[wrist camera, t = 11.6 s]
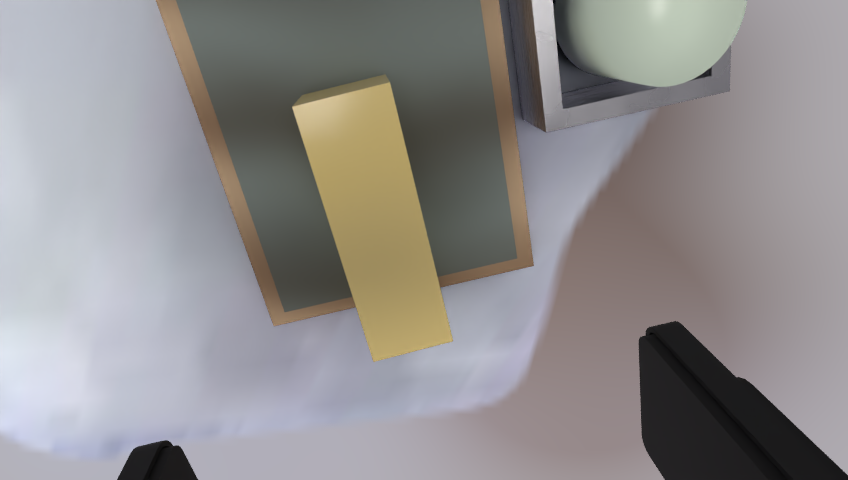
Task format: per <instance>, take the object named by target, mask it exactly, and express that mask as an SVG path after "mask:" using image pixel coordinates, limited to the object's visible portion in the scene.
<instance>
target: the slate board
mask: <svg viewBox="0 0 848 480" xmlns="http://www.w3.org/2000/svg"><path fill="white" fill-rule="evenodd" d="M156 2H157V5H158V8H159V10H160V13H161V16H162V19H163V21H164V24H165V27H166V30H167V32H168V35H169V38H170V41H171V43H172V46H173V49H174V52H175V55H176V57H177V60H178V63H179V66H180V68H181V71H182V74H183V77H184V79H185V82H186V85H187V88H188V90H189V93H190V96H191V99H192V102H193V104H194V107H195V110H196V113H197V115H198V118H199V121H200V124H201V126H202V129H203V132H204V135H205V137H206V140H207V143H208V146H209V148H210V151H211V154H212V157H213V160H214V162H215V165H216V168H217V171H218V173H219V176H220V179H221V182H222V184H223V187H224V190H225V193H226V195H227V198H228V201H229V204H230V206H231V209H232V212H233V215H234V218H235V220H236V223H237V226H238V229H239V231H240V234H241V237H242V240H243V242H244V245H245V248H246V251H247V253H248V256H249V259H250V262H251V265H252V267H253V270H254V273H255V276H256V278H257V281H258V284H259V287H260V289H261V292H262V295H263V298H264V300H265V303H266V306H267V309H268V311H269V314H270V317H271V320H272V323H273V325H274V326H277V325H281V324H286V323H290V322H294V321H298V320H303V319H307V318H311V317H316V316H320V315H324V314H329V313H333V312H337V311H341V310H346V309H350V308H354V307H356V305H355V302H354V299H353V296H352V293H351V290H350V287H349V284H348V280H347V277H346V274H345V271H344V268H343V265H342V262H341V259H340V255H339V252H338V249H337V246H336V243H335V240H334V237H333V233H332V230H331V227H330V224H329V221H328V218H327V215H326V212H325V208H324V205H323V202H322V199H321V196H320V193H319V190H318V187H317V183H316V180H315V177H314V174H313V171H312V168H311V165H310V162H309V158H308V155H307V152H306V149H305V146H304V143H303V140H302V136H301V133H300V130H299V127H298V124H297V121H296V118H295V115H294V111H293V108H292V106H293V105H294V104H295V103H296V101H297V100H298V99H299V98H300V97H301V96H302V95H304V94H308V93H312V92H316V91H320V90H324V89H328V88H332V87H336V86H340V85H344V84H348V83H352V82H356V81H360V80H364V79H368V78H372V77H376V76H380V75H384V74H386V76H387V78H388V80H389V81H390V84H391V88H392V93H393V97H394V101H395V105H396V109H397V113H398V117H399V121H400V125H401V129H402V134H403V138H404V142H405V146H406V150H407V154H408V158H409V162H410V166H411V170H412V175H413V179H414V183H415V187H416V191H417V195H418V199H419V203H420V207H421V211H422V216H423V220H424V224H425V228H426V232H427V236H428V240H429V244H430V248H431V253H432V257H433V261H434V265H435V269H436V273H437V277H438V281H439V285H440V287H445V286H449V285H453V284H458V283H462V282H466V281H470V280H475V279H479V278H483V277H488V276H492V275H496V274H501V273H505V272H509V271H513V270H518V269H522V268H526V267H531V266H534V264H533V256H532V249H531V241H530V233H529V226H528V218H527V211H526V203H525V195H524V188H523V180H522V173H521V165H520V157H519V150H518V142H517V135H516V127H515V119H514V112H513V104H512V97H511V89H510V81H509V74H508V66H507V59H506V51H505V43H504V36H503V28H502V21H501V13H500V5H499V0H156Z"/></svg>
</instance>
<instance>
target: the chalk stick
mask: <svg viewBox="0 0 848 480" xmlns="http://www.w3.org/2000/svg"><path fill="white" fill-rule="evenodd" d="M292 108H293V111H294V115H295V118H296V121H297V124H298V127H299V130H300V133H301V136H302V140H303V143H304V146H305V149H306V152H307V155H308V158H309V162H310V165H311V168H312V171H313V174H314V177H315V180H316V183H317V187H318V190H319V193H320V196H321V199H322V202H323V205H324V208H325V212H326V215H327V218H328V221H329V224H330V227H331V230H332V233H333V237H334V240H335V243H336V246H337V249H338V252H339V255H340V259H341V262H342V265H343V268H344V271H345V274H346V277H347V280H348V284H349V287H350V290H351V293H352V296H353V299H354V302H355V305H356V309H357V312H358V315H359V318H360V321H361V324H362V327H363V330H364V334H365V337H366V340H367V343H368V346H369V349H370V352H371V356H372V359H373V362H375V361H379V360H383V359H387V358H390V357H394V356H398V355H402V354H406V353H410V352H413V351H417V350H421V349H425V348H429V347H433V346H437V345H440V344H444V343H448V342H452V341H453V339H452V335H451V330H450V326H449V322H448V318H447V314H446V310H445V306H444V302H443V298H442V294H441V289H440V285H439V281H438V277H437V273H436V269H435V265H434V261H433V257H432V253H431V248H430V244H429V240H428V236H427V232H426V228H425V224H424V220H423V216H422V211H421V207H420V203H419V199H418V195H417V191H416V187H415V183H414V179H413V175H412V170H411V166H410V162H409V158H408V154H407V150H406V146H405V142H404V138H403V134H402V129H401V125H400V121H399V117H398V113H397V109H396V105H395V101H394V97H393V93H392V88H391V84H390V81H389V80H388V78H387V76H386V74H384V75H380V76H376V77H372V78H368V79H364V80H360V81H356V82H352V83H348V84H344V85H340V86H336V87H332V88H328V89H324V90H320V91H316V92H312V93H308V94H304V95H302V96H301V97H300V98H299V99H298V100H297V101H296V103H295V104H294V105H293V106H292Z"/></svg>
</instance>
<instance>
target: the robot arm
mask: <svg viewBox="0 0 848 480" xmlns="http://www.w3.org/2000/svg"><path fill="white" fill-rule="evenodd" d="M639 365H640V395H641V424H642V439H643V443H644V446H645V448H646V451H647V452H648V454H649V456H650V457H651V459H652V461H653V462H654V464H655V465H656V467H657V468H658V470H659V471H660V473H661V474H662V476H663V477H664V479H665V480H848V475H847V474H846V473H845V472H843V470H842V469H840V468H839V467H838V466H837V465H836V464H835V463H834V462H833V461H832V460H831V459H830V458H829V457H828V456H827V455H826V454H825V453H824V452H823V451H822V450H820V449H819V448H818V447H817V446H816V445H815V444H814V443H813V442H812V441H811V440H810V439H809V438H808V437H807V436H806V435H805V434H804V433H803V432H802V431H800V430H799V429H798V428H797V427H796V426H795V425H794V424H793V423H792V422H791V421H790V420H789V419H788V418H787V417H786V416H785V415H784V414H783V413H782V412H781V411H780V410H778V409H777V408H776V407H775V406H774V405H773V404H772V403H771V402H770V401H769V400H768V399H767V398H766V397H765V396H764V395H763V394H762V393H761V392H760V391H759V390H757V389H756V388H755V387H754V386H753V385H752V384H751V383H750V382H748V381H747V380H746V379H743V378H740V377H737V378H736V377H735V376H734V375H733V374H732V373H731V372H730V371H729V370H728V369H727V368H726V367H725V366H724V365H723V364H722V363H721V362H720V361H719V360H718V359H717V358H716V357H715V356H714V355H713V354H712V353H711V352H710V351H708V350H707V348H705V347H704V346H703V345H702V344H701V343H700V342H699V341H698V340H697V339H696V338H695V337H694V336H693V335H692V334H691V333H690V332H689V331H688V330H687V329H686V328H685V327H684V326H683V325H682V324H680V323H679V322H676V321H674V322H670V323H666V324H661V325H657V326H653V327H649V328H647V330H646V336H642V337H640V339H639ZM117 480H198V479H197V477H196V475H195V473H194V471H193V469H192V468H191V466H190V464H189V462H188V460H187V458H186V456H185V454H184V452H183V450H182V449H181V447H179V446H173V445H172V444H171V442H169V441H160V442H156V443H151V444H147V445H143V446H138V447H136V448H135V449H133V451H132V452H131V454H130V456H129V458H128V460H127V461H126V463H125V465H124V467H123V470H122V471H121V473H120V475H119V477H118V479H117Z"/></svg>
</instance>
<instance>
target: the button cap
mask: <svg viewBox="0 0 848 480" xmlns="http://www.w3.org/2000/svg"><path fill="white" fill-rule="evenodd" d="M746 4H747V0H556V3H555V10H554V21H555V31H556V36H557V39H558V42H559V44H560V47H561V49H562V50H563V52H564V54H565V55H566V56H567V58H568V59H569V60H570V61H571V62H572V63H573V64H574V65H575V66H577V67H578V68H580V69H581V70H583V71H585V72H587V73H590V74H593V75H597V76H602V77H607V78H612V79H617V80H622V81H627V82H632V83H637V84H642V85H647V86H654V87H668V86H675V85H678V84H682V83H685V82H687V81H690V80H692V79H694V78H696V77H697V76H699V75H701V74H702V73H704V72H705V71H707V70H708V69H709V68H711V67H712V66H713V65H714V64H715V63H716V62H717V61H718V60H719V59H720V58H721V57H722V55H723V54H724V53H725V52H726V50H727V49H728V48H729V46H730V45H731V43H732V42H733V40H734V38H735V36H736V34H737V32H738V30H739V28H740V26H741V23H742V20H743V17H744V13H745V9H746Z"/></svg>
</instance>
